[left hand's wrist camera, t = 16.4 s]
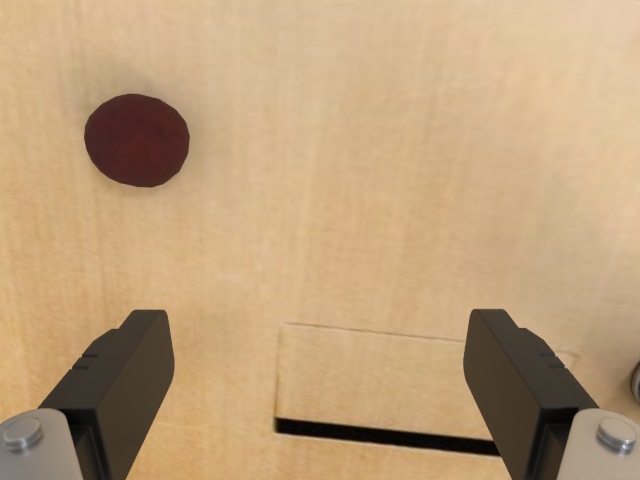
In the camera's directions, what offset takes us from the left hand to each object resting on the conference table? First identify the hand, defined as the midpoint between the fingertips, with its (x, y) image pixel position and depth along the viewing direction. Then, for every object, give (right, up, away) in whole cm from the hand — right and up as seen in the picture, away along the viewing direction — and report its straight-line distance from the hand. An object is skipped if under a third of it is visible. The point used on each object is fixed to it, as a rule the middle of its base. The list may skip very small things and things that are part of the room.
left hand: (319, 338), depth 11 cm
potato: (-14, +12, +27) cm, 32 cm away
